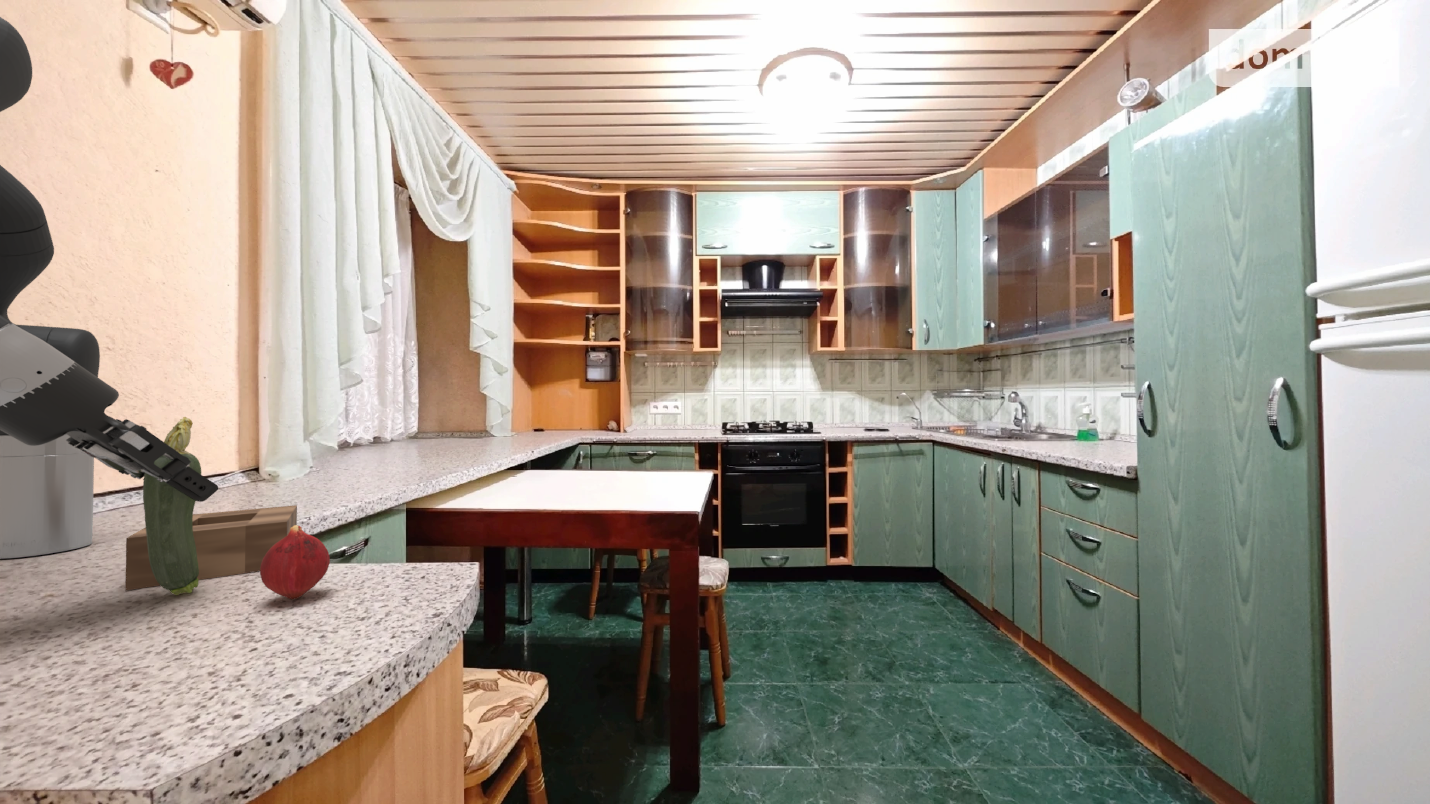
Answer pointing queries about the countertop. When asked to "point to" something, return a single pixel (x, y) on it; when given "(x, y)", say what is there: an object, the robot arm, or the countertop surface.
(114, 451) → the robot arm
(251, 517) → the socket block
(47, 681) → the countertop surface
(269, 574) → the onion
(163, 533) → the vegetable
